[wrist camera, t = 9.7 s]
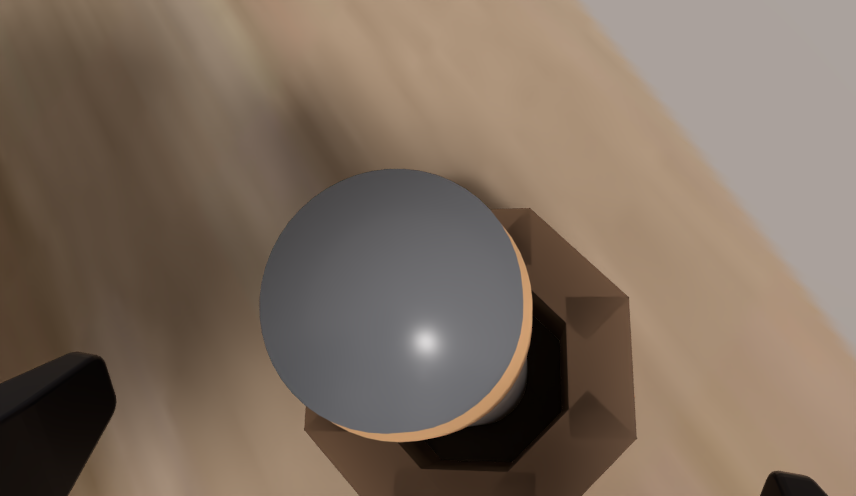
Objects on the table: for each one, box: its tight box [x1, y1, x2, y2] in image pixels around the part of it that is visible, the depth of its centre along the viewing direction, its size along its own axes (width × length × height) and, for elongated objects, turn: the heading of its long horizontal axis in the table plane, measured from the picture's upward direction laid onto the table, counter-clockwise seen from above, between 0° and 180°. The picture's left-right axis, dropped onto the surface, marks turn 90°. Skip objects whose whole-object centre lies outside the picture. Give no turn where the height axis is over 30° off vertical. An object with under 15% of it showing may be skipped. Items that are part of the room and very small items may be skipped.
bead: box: [304, 208, 637, 496], centre depth 17 cm, size 7×7×4 cm
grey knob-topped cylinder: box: [260, 169, 532, 442], centre depth 13 cm, size 3×3×12 cm
